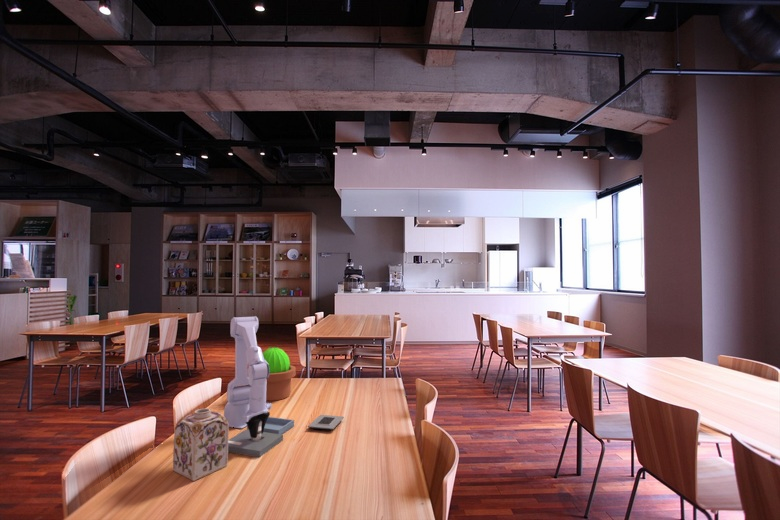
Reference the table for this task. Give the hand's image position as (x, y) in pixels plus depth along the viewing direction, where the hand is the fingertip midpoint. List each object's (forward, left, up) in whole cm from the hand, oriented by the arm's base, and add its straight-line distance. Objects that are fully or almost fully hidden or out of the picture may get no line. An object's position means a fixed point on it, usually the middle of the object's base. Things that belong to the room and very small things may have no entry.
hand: (256, 435), depth 136 cm
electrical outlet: (+16, +24, -4) cm, 29 cm away
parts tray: (-3, +14, -3) cm, 14 cm away
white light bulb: (0, 0, -3) cm, 3 cm away
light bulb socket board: (-1, -1, -3) cm, 3 cm away
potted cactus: (-27, +51, -3) cm, 58 cm away
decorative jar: (-6, -20, -3) cm, 21 cm away
